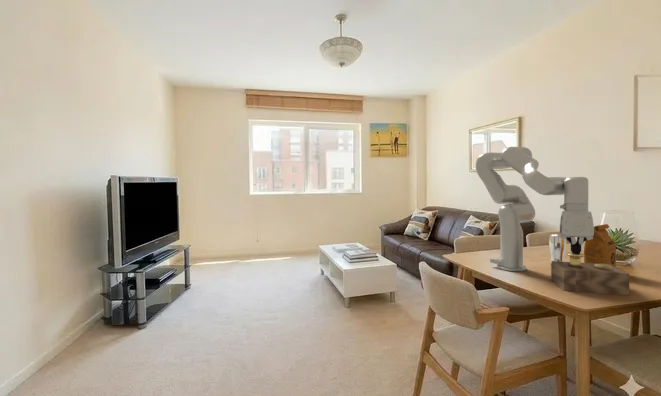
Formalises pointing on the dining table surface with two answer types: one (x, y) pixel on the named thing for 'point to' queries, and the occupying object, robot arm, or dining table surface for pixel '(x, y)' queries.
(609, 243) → the coffee package
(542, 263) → the dining table surface
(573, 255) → the brass peg
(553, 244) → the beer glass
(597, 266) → the walnut block
